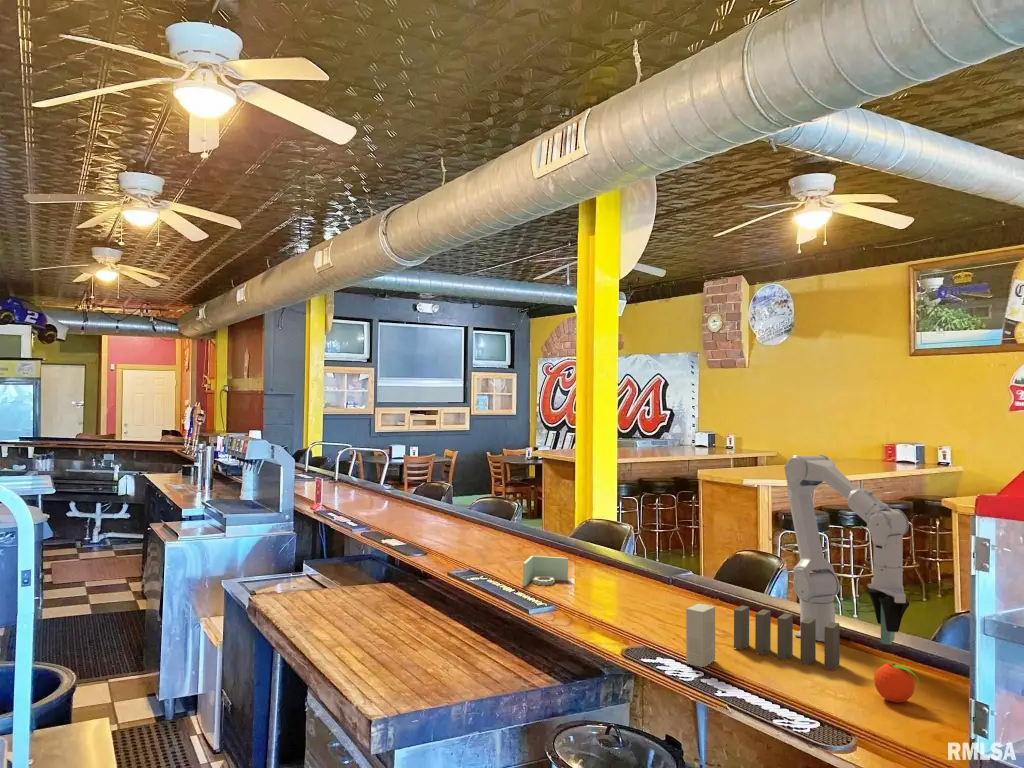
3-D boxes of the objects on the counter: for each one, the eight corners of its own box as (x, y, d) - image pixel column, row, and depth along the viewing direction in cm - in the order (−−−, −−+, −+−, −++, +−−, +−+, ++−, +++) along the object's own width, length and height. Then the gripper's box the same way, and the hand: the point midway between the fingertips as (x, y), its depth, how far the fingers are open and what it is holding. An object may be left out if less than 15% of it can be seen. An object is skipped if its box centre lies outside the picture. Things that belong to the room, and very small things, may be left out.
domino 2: (755, 653, 168) (755, 613, 169) (762, 648, 172) (762, 609, 172) (763, 655, 167) (763, 615, 167) (770, 650, 171) (770, 610, 171)
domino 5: (824, 668, 159) (824, 626, 159) (830, 662, 163) (830, 621, 163) (833, 670, 158) (833, 628, 158) (839, 664, 162) (839, 623, 162)
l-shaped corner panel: (522, 587, 228) (522, 563, 228) (531, 578, 240) (531, 555, 240) (561, 590, 225) (561, 565, 225) (567, 581, 237) (568, 557, 237)
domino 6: (880, 643, 162) (880, 601, 162) (885, 637, 165) (885, 597, 165) (889, 644, 160) (889, 602, 161) (894, 639, 164) (894, 598, 164)
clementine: (925, 702, 142) (924, 664, 142) (915, 713, 136) (915, 674, 137) (879, 691, 147) (879, 655, 147) (869, 701, 142) (869, 663, 142)
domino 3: (777, 658, 165) (777, 617, 165) (784, 653, 169) (784, 613, 169) (785, 660, 164) (785, 619, 164) (792, 654, 168) (792, 614, 168)
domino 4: (800, 663, 162) (800, 622, 162) (807, 657, 166) (807, 617, 166) (808, 665, 161) (809, 623, 161) (815, 659, 165) (815, 618, 165)
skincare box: (697, 656, 166) (697, 602, 166) (715, 661, 163) (715, 606, 163) (685, 664, 161) (685, 608, 161) (703, 668, 158) (704, 612, 159)
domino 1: (733, 648, 171) (734, 609, 172) (741, 643, 175) (741, 605, 175) (741, 650, 170) (741, 611, 171) (749, 645, 174) (749, 606, 174)
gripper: (857, 557, 171) (857, 617, 171) (880, 572, 157) (880, 636, 156) (890, 558, 170) (889, 618, 170) (916, 573, 156) (916, 638, 155)
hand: (887, 627), depth 163 cm, fingers closed on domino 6, 5 cm apart
